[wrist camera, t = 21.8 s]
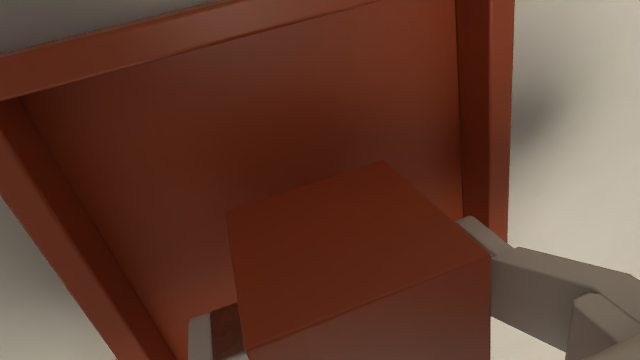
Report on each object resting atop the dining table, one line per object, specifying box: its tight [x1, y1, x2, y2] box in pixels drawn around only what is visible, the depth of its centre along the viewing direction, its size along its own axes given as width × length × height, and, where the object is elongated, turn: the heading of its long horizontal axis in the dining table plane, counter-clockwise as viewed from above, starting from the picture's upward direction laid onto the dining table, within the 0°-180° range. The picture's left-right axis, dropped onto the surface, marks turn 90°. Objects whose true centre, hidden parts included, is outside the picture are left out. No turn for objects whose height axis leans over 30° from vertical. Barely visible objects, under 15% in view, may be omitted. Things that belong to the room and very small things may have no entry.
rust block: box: [225, 160, 491, 360], centre depth 10 cm, size 4×4×4 cm
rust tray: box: [0, 0, 515, 360], centre depth 13 cm, size 14×14×2 cm
